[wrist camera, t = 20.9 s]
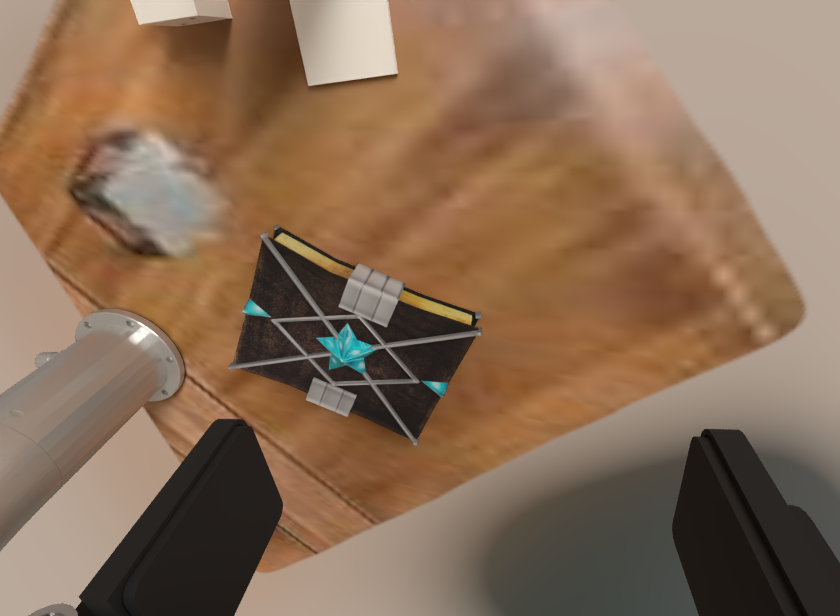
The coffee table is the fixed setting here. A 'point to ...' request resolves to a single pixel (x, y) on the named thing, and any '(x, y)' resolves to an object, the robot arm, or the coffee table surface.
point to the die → (180, 11)
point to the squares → (344, 39)
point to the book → (350, 335)
